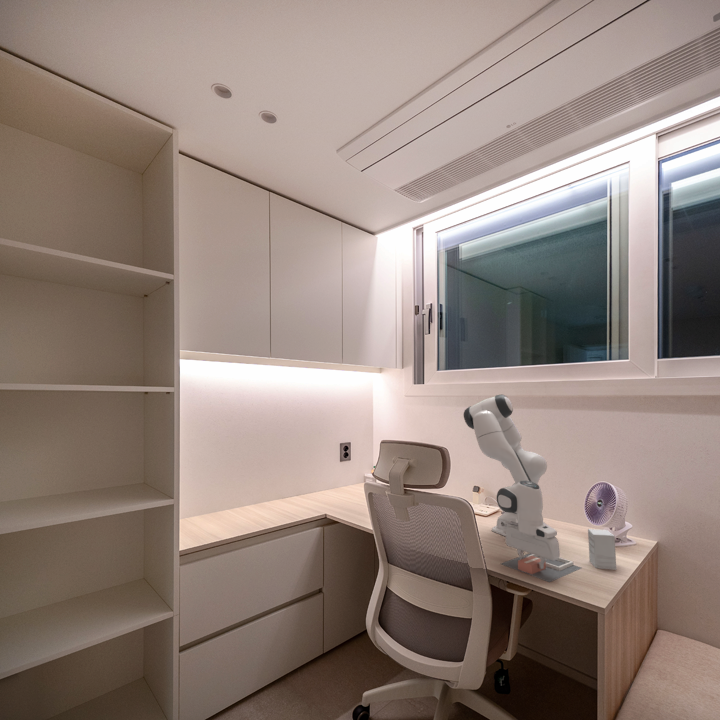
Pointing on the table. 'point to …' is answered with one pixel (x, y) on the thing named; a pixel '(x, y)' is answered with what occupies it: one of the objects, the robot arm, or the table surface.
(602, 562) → the supplement box
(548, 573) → the desk mat
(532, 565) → the card deck
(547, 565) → the frame
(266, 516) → the table surface
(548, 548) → the robot arm
